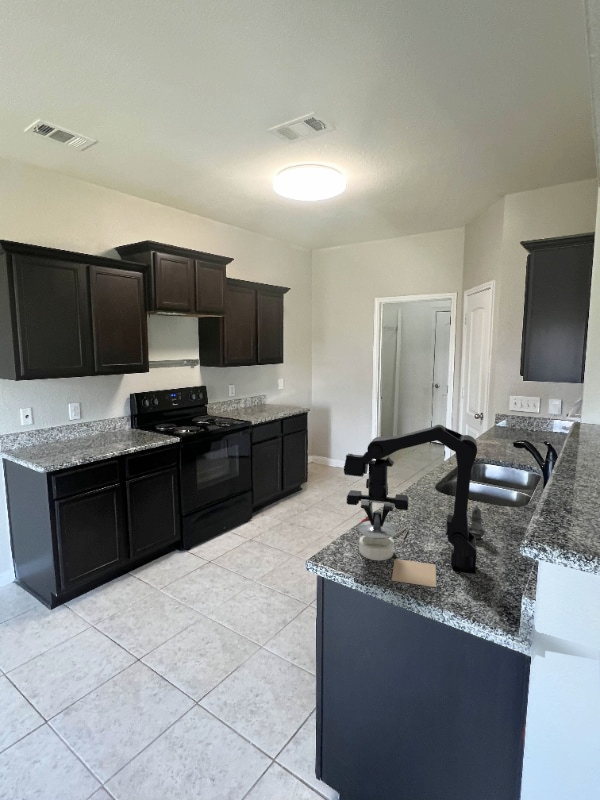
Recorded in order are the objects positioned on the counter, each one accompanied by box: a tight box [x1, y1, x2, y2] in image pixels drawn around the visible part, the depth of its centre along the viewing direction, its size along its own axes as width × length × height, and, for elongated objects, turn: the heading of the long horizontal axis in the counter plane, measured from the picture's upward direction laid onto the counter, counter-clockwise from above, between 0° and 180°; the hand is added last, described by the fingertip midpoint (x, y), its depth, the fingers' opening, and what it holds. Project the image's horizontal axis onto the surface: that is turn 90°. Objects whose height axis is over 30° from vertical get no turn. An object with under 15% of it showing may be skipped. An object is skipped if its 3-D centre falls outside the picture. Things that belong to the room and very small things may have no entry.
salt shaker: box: [468, 505, 486, 544], centre depth 143 cm, size 6×6×12 cm
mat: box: [391, 558, 437, 588], centre depth 124 cm, size 12×12×1 cm
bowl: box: [358, 535, 395, 561], centre depth 136 cm, size 11×11×4 cm
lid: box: [358, 510, 397, 539], centre depth 134 cm, size 12×12×6 cm
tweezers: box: [391, 525, 411, 543], centre depth 150 cm, size 17×5×2 cm, turn 148°
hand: (377, 525), depth 135 cm, fingers closed on lid, 3 cm apart
